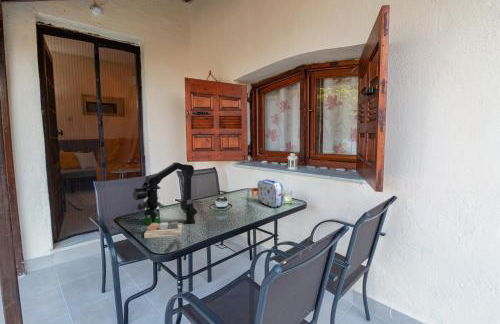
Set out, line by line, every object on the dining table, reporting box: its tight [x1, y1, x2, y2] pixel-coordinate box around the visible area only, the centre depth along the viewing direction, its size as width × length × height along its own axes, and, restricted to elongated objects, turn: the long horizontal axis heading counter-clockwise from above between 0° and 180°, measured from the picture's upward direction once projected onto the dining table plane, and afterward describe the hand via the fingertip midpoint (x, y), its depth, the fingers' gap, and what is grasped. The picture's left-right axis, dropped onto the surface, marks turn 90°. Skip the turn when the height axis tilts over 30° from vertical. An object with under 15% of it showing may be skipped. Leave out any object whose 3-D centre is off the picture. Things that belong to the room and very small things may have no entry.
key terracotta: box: [149, 223, 159, 231], centre depth 151 cm, size 4×4×3 cm
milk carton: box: [143, 196, 161, 226], centre depth 167 cm, size 9×9×20 cm
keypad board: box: [143, 222, 183, 239], centre depth 152 cm, size 14×20×3 cm
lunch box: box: [257, 179, 284, 208], centre depth 210 cm, size 28×10×22 cm, turn 33°
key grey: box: [159, 221, 169, 230], centre depth 152 cm, size 4×4×3 cm
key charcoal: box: [169, 221, 179, 229], centre depth 153 cm, size 4×4×3 cm
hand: (153, 222), depth 151 cm, fingers closed
